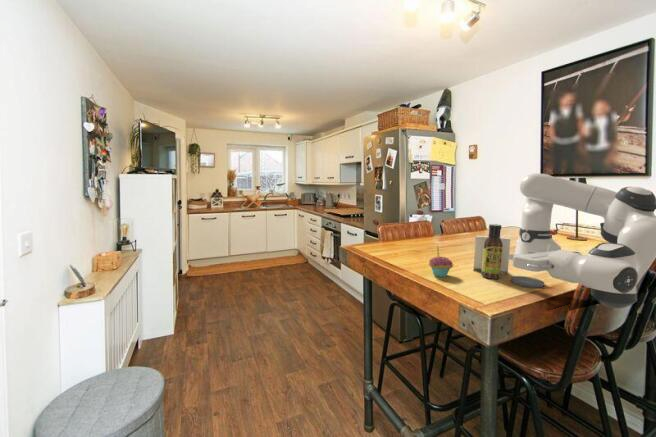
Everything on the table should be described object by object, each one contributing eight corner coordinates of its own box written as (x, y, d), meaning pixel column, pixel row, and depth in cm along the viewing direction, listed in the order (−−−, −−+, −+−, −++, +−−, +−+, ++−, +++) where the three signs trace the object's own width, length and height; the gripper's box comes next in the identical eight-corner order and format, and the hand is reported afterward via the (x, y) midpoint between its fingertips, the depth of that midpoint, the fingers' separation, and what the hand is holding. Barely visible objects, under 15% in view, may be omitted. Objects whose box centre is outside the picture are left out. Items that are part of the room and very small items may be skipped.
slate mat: (523, 277, 120) (523, 274, 120) (550, 285, 111) (550, 283, 110) (504, 280, 116) (504, 277, 116) (530, 289, 107) (531, 286, 107)
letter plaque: (473, 271, 128) (475, 236, 126) (473, 268, 132) (475, 234, 130) (507, 275, 123) (510, 239, 121) (506, 272, 127) (509, 237, 125)
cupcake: (439, 279, 117) (440, 247, 115) (423, 273, 125) (424, 243, 123) (456, 276, 120) (458, 245, 119) (440, 270, 128) (442, 241, 127)
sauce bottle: (484, 279, 118) (487, 225, 115) (479, 274, 124) (482, 223, 121) (502, 280, 117) (506, 225, 114) (496, 275, 123) (500, 223, 120)
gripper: (538, 279, 92) (497, 267, 105) (583, 271, 100) (539, 261, 113) (540, 257, 92) (498, 248, 104) (585, 252, 99) (540, 243, 112)
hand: (520, 255), depth 109 cm, fingers open, 8 cm apart
